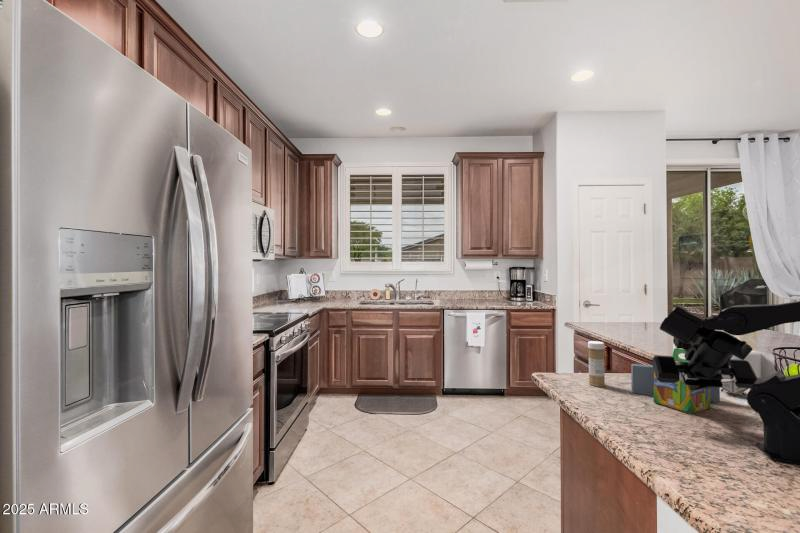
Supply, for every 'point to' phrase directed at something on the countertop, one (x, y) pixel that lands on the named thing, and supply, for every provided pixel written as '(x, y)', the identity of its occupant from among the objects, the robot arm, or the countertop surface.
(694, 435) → the countertop surface
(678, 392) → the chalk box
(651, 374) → the board
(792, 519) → the countertop surface
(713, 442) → the countertop surface
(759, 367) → the toilet tissue
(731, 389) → the game die
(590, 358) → the sprinkles bottle
